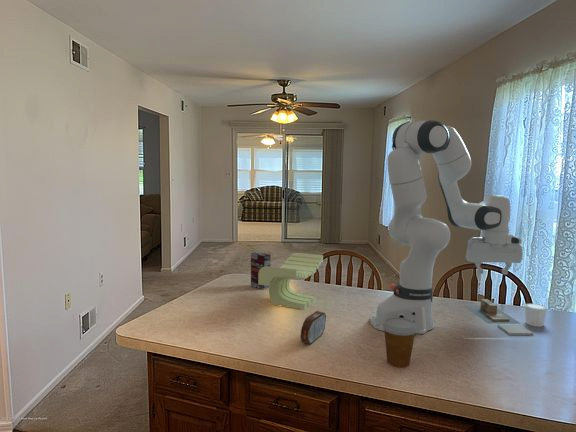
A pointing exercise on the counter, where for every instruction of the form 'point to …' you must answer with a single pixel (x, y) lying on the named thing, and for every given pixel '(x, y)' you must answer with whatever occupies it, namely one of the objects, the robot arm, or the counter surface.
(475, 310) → the tool rest mat
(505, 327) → the tile
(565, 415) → the counter surface
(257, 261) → the supplement box
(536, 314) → the white cup
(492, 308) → the tan stepped block
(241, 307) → the counter surface
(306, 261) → the slatted curved stool
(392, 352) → the disposable coffee cup
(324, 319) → the tin
